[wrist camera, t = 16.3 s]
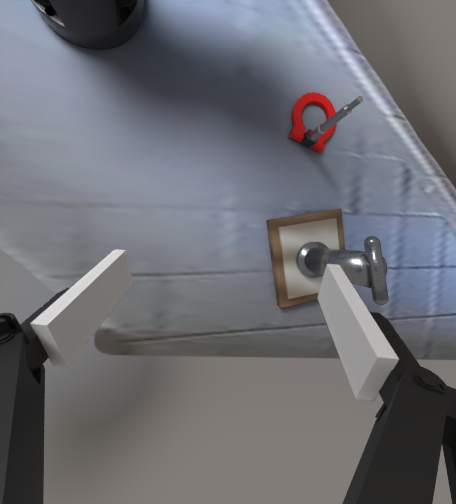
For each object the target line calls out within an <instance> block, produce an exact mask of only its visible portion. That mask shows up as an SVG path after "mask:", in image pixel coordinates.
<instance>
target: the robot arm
mask: <svg viewBox="0 0 456 504" xmlns="http://www.w3.org/2000/svg"><path fill="white" fill-rule="evenodd" d="M31 1H32V3H33V4H34V6H35V7H36V9H37V10H38V12H39V13H40V15H41V16H42V18H43V19H44V20H45V22H46V23H47V24H48V25H49V26H50V27H51V28H52V29H53V30H54V31H55V32H56V33H58V34H59V35H60V36H62V37H63V38H65V39H66V40H68V41H70V42H72V43H74V44H76V45H79V46H82V47H86V48H91V49H108V48H113V47H116V46H118V45H121V44H123V43H124V42H126V41H127V40H128V39H130V38H131V37H132V36H133V35H134V33H135V32H136V31H137V29H138V27H139V26H140V23H141V21H142V18H143V14H144V0H31ZM132 284H133V281H132V276H131V272H130V267H129V263H128V258H127V254H126V250H116V249H115V250H114V251H112V252H111V253H110V254H109V255H108V256H107V257H106V258H104V259H103V260H102V261H101V262H100V263H99V264H98V265H96V266H95V267H94V268H93V269H92V270H91V271H90V272H88V273H87V274H86V275H85V276H84V277H83V278H82V279H80V280H79V281H78V282H77V283H76V284H75V285H74V286H72V287H71V288H67V289H65V290H63V291H61V292H59V293H57V294H56V295H55V296H54V297H53V298H51V299H50V301H49V302H47V303H46V304H44V305H43V307H41V308H40V309H38V310H37V311H36V312H35V313H34V314H32V315H31V316H30V317H29V318H28V319H26V320H25V321H24V322H23V323H22V324H21V325H20V324H19V322H18V321H17V319H16V317H15V316H14V314H11V313H2V314H0V504H43V480H44V479H43V478H44V477H43V476H44V397H45V396H44V394H45V368H44V365H43V363H44V362H45V361H46V360H47V358H49V359H50V361H51V363H52V365H53V366H61V367H69V365H70V364H71V363H72V362H73V360H74V359H75V357H76V356H77V355H78V354H79V353H80V351H81V350H82V349H83V347H84V346H85V345H86V344H87V342H88V341H89V340H90V338H91V337H92V336H93V335H94V333H95V332H96V331H97V329H98V328H99V327H100V326H101V324H102V323H103V322H104V320H105V319H106V318H107V316H108V315H109V314H110V313H111V311H112V310H113V309H114V307H115V306H116V305H117V304H118V302H119V301H120V300H121V298H122V297H123V296H124V295H125V293H126V292H127V291H128V289H129V288H130V287H131V286H132ZM318 301H319V303H320V306H321V309H322V311H323V314H324V317H325V319H326V322H327V325H328V327H329V330H330V333H331V335H332V338H333V340H334V343H335V346H336V348H337V351H338V354H339V356H340V359H341V362H342V364H343V367H344V369H345V372H346V375H347V377H348V380H349V383H350V385H351V387H352V390H353V393H354V396H355V398H356V399H360V400H369V401H375V399H376V397H377V396H378V394H379V393H380V395H381V398H382V400H383V402H384V404H383V405H382V407H381V408H380V410H379V411H378V413H377V415H376V417H377V419H376V422H375V424H374V427H373V429H372V432H371V434H370V437H369V439H368V442H367V444H366V447H365V449H364V452H363V454H362V457H361V459H360V461H359V464H358V466H357V469H356V472H355V474H354V476H353V479H352V481H351V484H350V486H349V489H348V491H347V494H346V496H345V499H344V501H343V504H432V502H433V495H434V489H435V483H436V477H437V470H438V463H439V458H440V451H441V445H442V446H443V451H444V457H445V463H446V468H447V475H448V480H449V486H450V492H451V498H452V504H456V389H454V388H451V387H449V386H446V384H445V383H444V382H443V381H442V380H441V379H440V378H439V377H438V376H437V375H436V374H434V373H433V372H431V371H430V370H428V369H426V368H423V367H421V366H420V365H419V364H418V362H417V361H416V359H415V358H414V356H413V355H412V354H411V352H410V351H409V349H408V348H407V347H406V345H405V344H404V342H403V341H402V339H400V337H399V335H398V334H397V332H396V331H395V329H394V328H393V327H392V325H391V324H390V322H389V321H388V320H387V319H386V318H384V317H383V316H382V315H381V314H380V313H373V312H369V311H368V309H367V308H366V306H365V304H364V303H363V301H362V300H361V298H360V297H359V295H358V293H357V292H356V290H355V289H354V287H353V286H352V284H351V282H350V281H349V279H348V278H347V276H346V274H345V273H344V271H343V270H342V268H341V267H340V265H336V264H327V265H326V268H325V272H324V276H323V280H322V283H321V287H320V291H319V294H318Z"/></svg>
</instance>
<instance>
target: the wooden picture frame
mask: <svg viewBox="0 0 456 504" xmlns="http://www.w3.org/2000/svg"><path fill="white" fill-rule="evenodd" d="M266 221H267V229H268V237H269V244H270V252H271V259H272V267H273V274H274V282H275V290H276V297H277V305H278V306H279V307H280V308H283V307H287V306H292V305H296V304H301V303H305V302H309V301H314V300H318V294H319V291H320V287H321V283H322V280H323V276H324V275H323V276H321V277H319V278H311V277H307V276H305V275H303V274H302V273H301V272H300V271H299V269H298V267H297V263H296V257H297V253H298V251H299V249H300V248H301V247H302V246H303V245H304V244H306V243H308V242H321V243H323V244H325V245H326V246H327V247H328V248H329V249H339V250H345V246H344V236H343V225H342V214H341V209H336V210H330V211H323V212H317V213H311V214H304V215H298V216H291V217H285V218H279V219H272V220H266Z"/></svg>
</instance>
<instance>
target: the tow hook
mask: <svg viewBox="0 0 456 504" xmlns="http://www.w3.org/2000/svg"><path fill="white" fill-rule="evenodd" d="M362 101H363V98H362V97H361V96H359V97H357V98H356V99H355V100H354V101H352V102H351V103H350V104H346V105H345V106H344V107H343V108H341V109H340V110H339V111H338V112H335V109H334V107H333V105H332V103H331V102H330V101H329V100H328V99H327V98H326V97H325V96H323V95H321V94H319V93H314V92H313V93H307V94H305V95H303V96H302V97H301V98H300V99H299V100H298V101H297V102H296V104H295V106H294V108H293V111H292V122H293V129H292V130H291V132H290V134H289V137H290V138H292V139H294V140H296V141H298V142H300V143H301V144H303V145H305V146H307V147H309V148H312V149H314V150H316V151H318V152H322V151H323V150H324V148H325V145H324V142H325V140H326V139H328V138H329V137H330V136H331V135H332V133H333V131H334V130H335V126H336V123H337V122H338V121H340V120H341V119H342V118H344V117H345V116H346V115H348V114H349V113H350V112H351V111H352V109H353V108H355V107H356V106H357V105H358V104H360V103H361V102H362ZM311 103H313V104H317V105H319V106H320V107H322V108H323V110H324V111H325V113H326V117H327V121H325V122H324V123H323V124H320V125H319V126H318V127H317V128H315V129H314V130H313V131H312V130H310V129H309V130H308V131H307V132H306V133H304V131H305V126H304V124H303V122H302V118H301V116H302V110H303V108H304V106H305V105H307V104H311Z"/></svg>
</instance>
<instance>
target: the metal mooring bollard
mask: <svg viewBox="0 0 456 504" xmlns="http://www.w3.org/2000/svg"><path fill="white" fill-rule="evenodd" d="M364 245H365V252H362V251H350V250H339V249H329V248H328V247H327V246H326V245H325V244H323V243H321V242H308V243H306V244H304V245H303V246H302V247H301V248H300V249H299V251H298V253H297V257H296V263H297V267H298V269H299V271H300V272H301V273H302V274H303V275H305V276H307V277H311V278H319V277H321V276H323V275H324V272H325V268H326V265H327V264H336V265H340V267H341V268H342V270H343V271H344V273H345V274H346V276H347V278H348V279H349V281H350V282H351V283H354V284H357V285H361V286H365V287H368V288H371V289H372V296H373V300H374V302H375V303H377V304H379V305H384V304H386V303H387V302H388V292H387V285H386V279H385V277H386V273H387V264H386V261H385V259H384V258H383V257H382V252H381V245H380V240H379V239H378V238H377V237H374V236H370V237H368V238H366V239H365V241H364Z"/></svg>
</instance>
